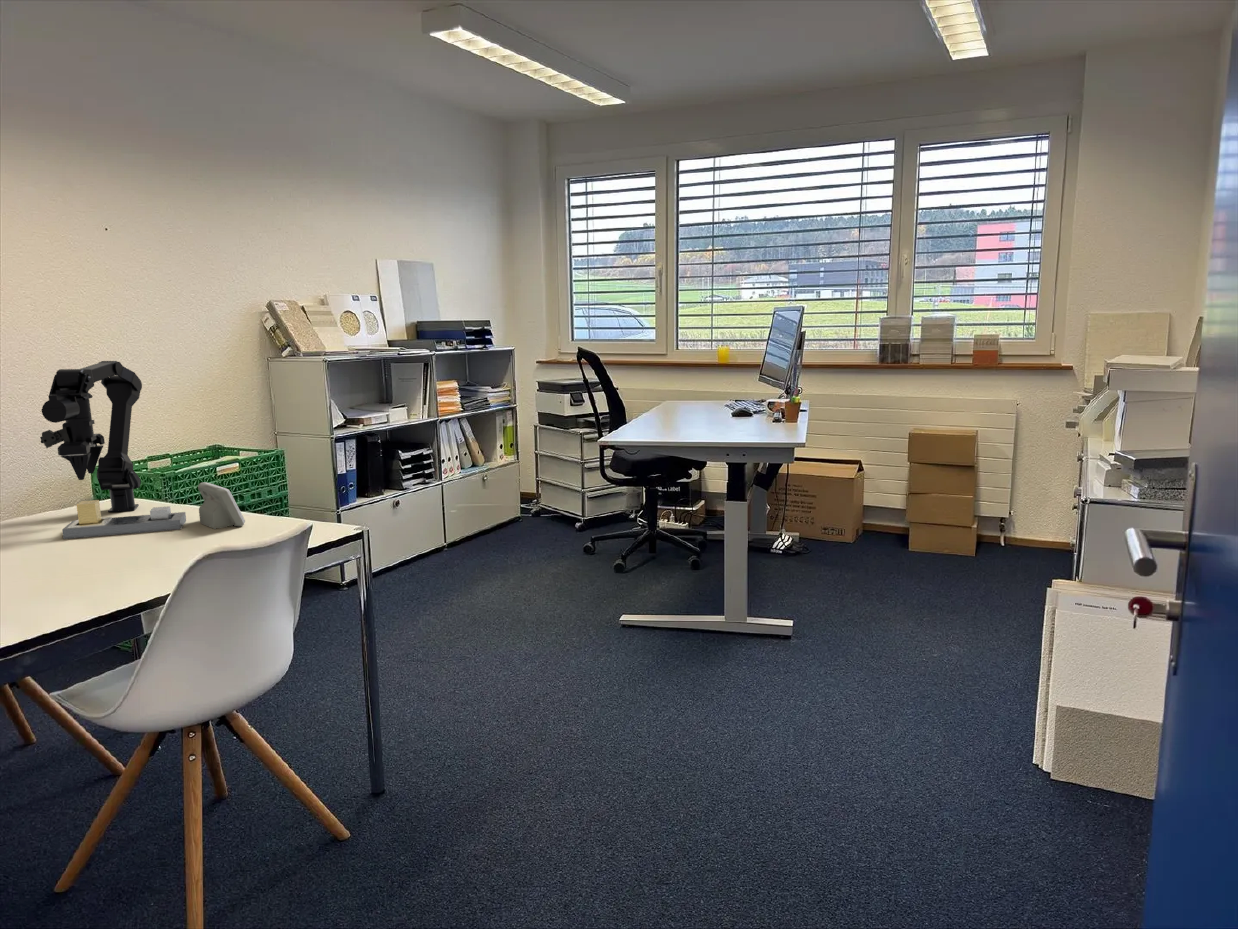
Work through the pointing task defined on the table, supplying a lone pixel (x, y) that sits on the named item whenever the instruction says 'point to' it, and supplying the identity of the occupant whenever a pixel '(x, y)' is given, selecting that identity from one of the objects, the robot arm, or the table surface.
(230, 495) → the digital clock
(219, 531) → the table surface
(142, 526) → the rail
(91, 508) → the brass peg
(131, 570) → the table surface
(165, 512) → the steel peg
